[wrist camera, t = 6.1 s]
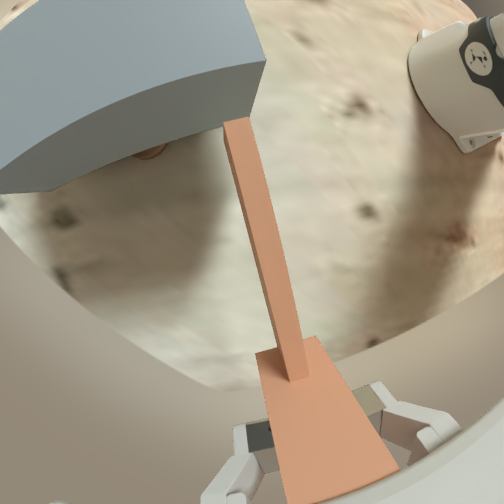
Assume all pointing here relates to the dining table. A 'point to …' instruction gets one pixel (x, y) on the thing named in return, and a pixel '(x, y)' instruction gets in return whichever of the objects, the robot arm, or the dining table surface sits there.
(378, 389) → the robot arm
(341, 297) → the dining table surface
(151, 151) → the brown round piece
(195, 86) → the grey block
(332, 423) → the square headed mallet
